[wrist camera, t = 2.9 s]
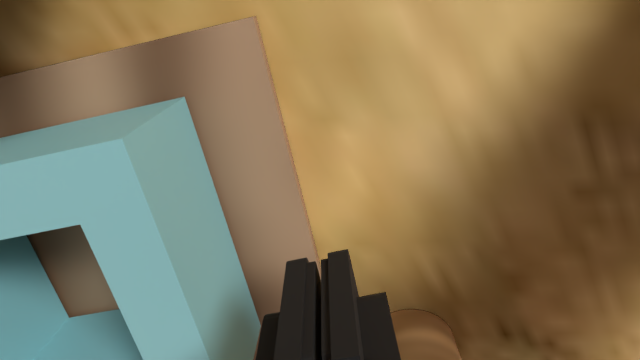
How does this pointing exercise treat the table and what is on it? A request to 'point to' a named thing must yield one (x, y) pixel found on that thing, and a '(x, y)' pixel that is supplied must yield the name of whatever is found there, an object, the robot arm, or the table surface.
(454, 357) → the dowel
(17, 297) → the hole block
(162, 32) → the table surface
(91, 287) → the backstop board
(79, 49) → the table surface
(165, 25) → the table surface
